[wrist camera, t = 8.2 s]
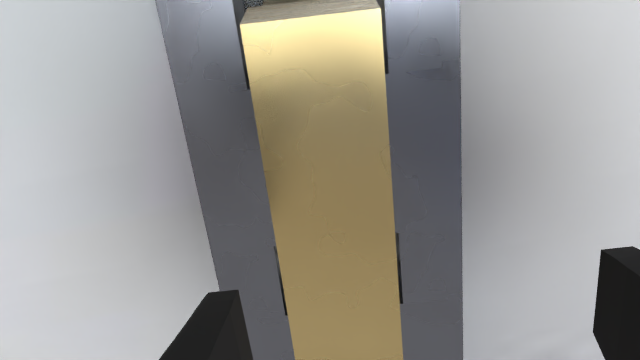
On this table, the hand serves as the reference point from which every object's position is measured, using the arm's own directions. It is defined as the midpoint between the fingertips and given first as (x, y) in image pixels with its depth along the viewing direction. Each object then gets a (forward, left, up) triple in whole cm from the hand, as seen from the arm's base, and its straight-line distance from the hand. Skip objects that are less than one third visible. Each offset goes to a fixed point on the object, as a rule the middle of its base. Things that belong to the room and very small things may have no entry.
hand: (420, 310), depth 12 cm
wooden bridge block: (0, +2, -9) cm, 9 cm away
